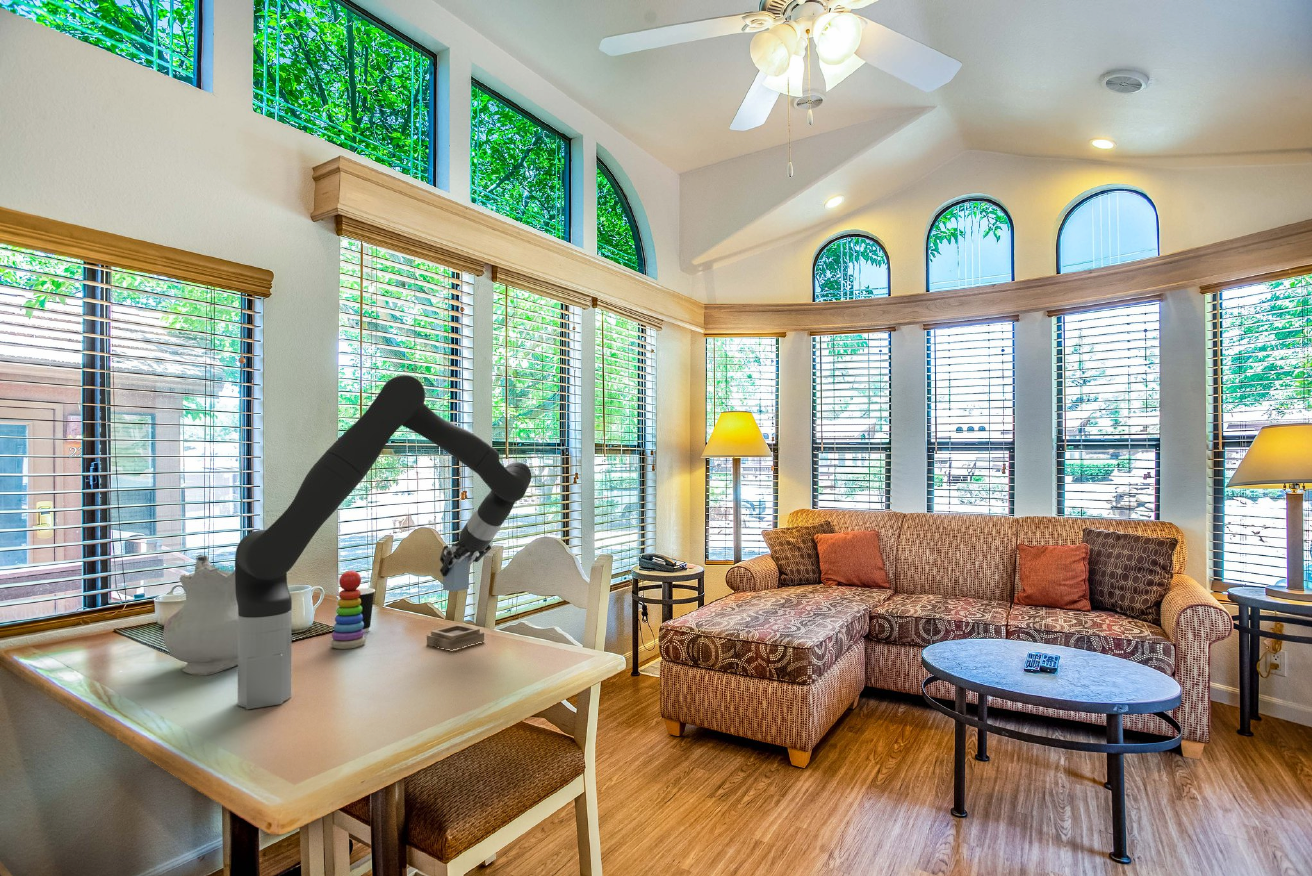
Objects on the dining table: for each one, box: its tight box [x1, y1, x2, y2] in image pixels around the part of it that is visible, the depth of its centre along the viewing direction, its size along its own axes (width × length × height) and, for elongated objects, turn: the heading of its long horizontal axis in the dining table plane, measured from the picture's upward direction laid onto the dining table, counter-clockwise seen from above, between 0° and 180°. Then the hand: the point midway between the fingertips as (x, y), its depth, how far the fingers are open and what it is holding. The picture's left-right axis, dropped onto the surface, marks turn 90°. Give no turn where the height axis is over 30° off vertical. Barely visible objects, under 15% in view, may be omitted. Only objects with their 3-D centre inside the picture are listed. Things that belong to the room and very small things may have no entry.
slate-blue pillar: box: [442, 552, 470, 593], centre depth 176 cm, size 4×4×10 cm
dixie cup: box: [357, 587, 376, 634], centre depth 189 cm, size 8×8×11 cm
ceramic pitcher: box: [162, 554, 238, 676], centre depth 159 cm, size 22×20×25 cm
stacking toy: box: [330, 570, 366, 650], centre depth 175 cm, size 8×8×19 cm
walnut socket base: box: [426, 623, 485, 650], centre depth 176 cm, size 10×10×4 cm
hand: (451, 572), depth 177 cm, fingers closed on slate-blue pillar, 4 cm apart
